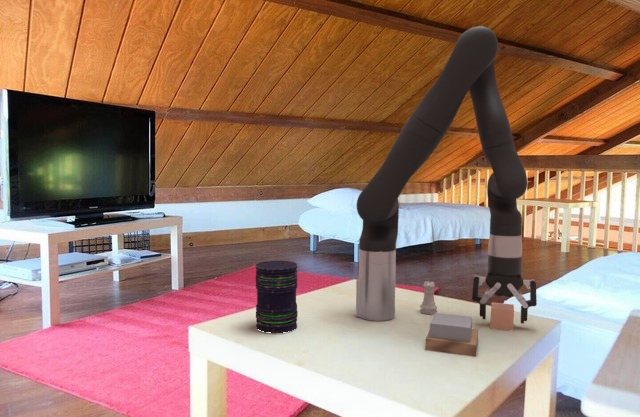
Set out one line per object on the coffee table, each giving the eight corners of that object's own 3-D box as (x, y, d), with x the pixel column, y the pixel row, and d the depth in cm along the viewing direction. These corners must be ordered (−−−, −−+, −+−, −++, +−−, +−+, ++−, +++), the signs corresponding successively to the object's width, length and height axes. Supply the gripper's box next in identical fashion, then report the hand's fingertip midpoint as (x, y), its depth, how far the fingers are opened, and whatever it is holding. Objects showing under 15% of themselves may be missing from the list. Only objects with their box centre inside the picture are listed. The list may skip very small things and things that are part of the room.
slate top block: (429, 337, 101) (430, 323, 100) (434, 325, 108) (434, 312, 108) (469, 342, 98) (470, 327, 98) (471, 330, 105) (472, 316, 105)
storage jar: (283, 336, 108) (283, 270, 106) (247, 329, 112) (246, 266, 111) (305, 324, 116) (305, 263, 115) (270, 318, 121) (270, 259, 120)
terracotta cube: (490, 328, 114) (491, 307, 114) (491, 322, 119) (491, 302, 118) (513, 331, 112) (514, 310, 112) (512, 324, 117) (513, 304, 116)
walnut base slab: (425, 352, 100) (425, 338, 100) (431, 336, 109) (432, 324, 109) (475, 359, 97) (476, 344, 96) (477, 342, 106) (478, 329, 106)
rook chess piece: (437, 315, 124) (438, 284, 123) (419, 314, 125) (420, 283, 124) (436, 310, 128) (437, 280, 127) (419, 309, 129) (420, 279, 128)
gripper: (472, 254, 113) (470, 322, 114) (539, 258, 108) (536, 328, 109) (474, 249, 120) (472, 313, 121) (536, 252, 115) (534, 319, 116)
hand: (503, 320), depth 115 cm, fingers open, 8 cm apart
